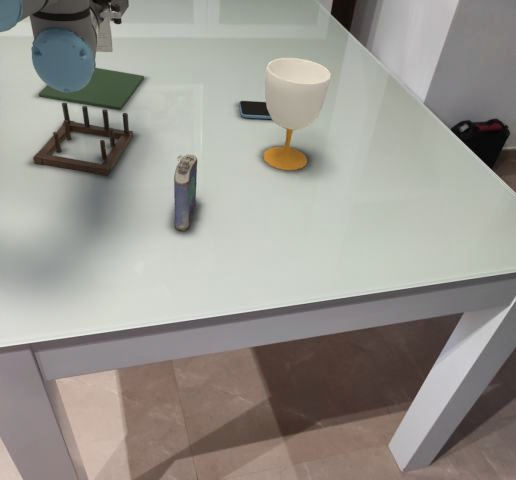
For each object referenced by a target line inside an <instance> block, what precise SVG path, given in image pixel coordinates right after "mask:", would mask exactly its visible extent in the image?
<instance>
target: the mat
mask: <svg viewBox="0 0 516 480" xmlns="http://www.w3.org/2000/svg"><path fill="white" fill-rule="evenodd" d="M143 80H145V76H144V75H141V74H135V73H129V72H124V71H123V72H122V71H116V70H111V69H105V68H99V67H95V69H94V72H93V75H92V77H91V79H90V81H89V83H88V84H87V85H86V86H85V87H84V88H83V89H81V90H79V91H76V92H69V93H66V92H61V91H58V90H55V89H53V88H51V87H50V86H48V85H47V84H46V86H45V87H44V88H43V89H42V90H40V92H38V97H42V98H47V99H53V100H58V101H64V102H70V103H75V104H83V105H88V106H95V107H99V108H106V109H112V110H117V111H121V110H122V109H123V108H124V106H125V105H126V104H127V102H128V101H129V100H130V98H131V97H132V96H133V94H134V93H135V91H136V90H137V89H138V87H139V86H140V85H141V83H142V82H143Z"/></svg>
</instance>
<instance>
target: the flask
mask: <svg viewBox="0 0 516 480" xmlns="http://www.w3.org/2000/svg"><path fill="white" fill-rule="evenodd" d="M177 161H178V163H177V164H176V168H175V171H174V176H173V182H174V183H173V187H174V188H173V190H174V191H173V192H174V193H173V195H174V196H173V197H174V202H173V203H174V218H173V219H174V220H173V221H174V222H173V223H174V224H173V225H174V228H175V230H177V231H183V232H185V231H187V230H188V229H189V228H190V223H191V221H192V219H193V215H192V214H193V213H194V210H195V208H196V206H197V203H196V202H197V179H198V177H197V174H198V157H197V156H196V155H194V154H186V155H182V154H179V155H178V156H177Z"/></svg>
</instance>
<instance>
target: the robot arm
mask: <svg viewBox="0 0 516 480" xmlns="http://www.w3.org/2000/svg"><path fill="white" fill-rule="evenodd" d="M129 3H130V1H129V0H0V33H4V32H8V31H10V30H11V29H12V28H14V27H16V25H17V24H18V23H20V22H21V21H24V20H25V19H27V18H28V17H29V20H30V26H31V31H32V36H33V41H32V43H31V44H32V46H31V47H30V48H31V62H32V66H33V69H34V71H35V73H36V74H37V76H38V77H39V78H40V80H41V81H42V82H43V83H44V84H46V86H47V85H48V86H50V87H51V88H53V89H55V90H58V91H61V92H66V93H69V92H76V91H79V90H81V89H83V88H84V87H85V86H86V85H87V84H88V83H89V81H90V79H91V77H92V75H93V72H94V69H95V68H97V67H96V65H97V63H96V57H97V52H96V49H97V42H98V36H99V29H100V23H102V22H103V21H104V18H109V19H110V22H113V23H114V24H115V25H121V24H122V23H123V21H122V17H123V16H124V14H126V11H127V10H128V8H129V7H130V4H129Z"/></svg>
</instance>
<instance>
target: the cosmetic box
mask: <svg viewBox="0 0 516 480" xmlns="http://www.w3.org/2000/svg"><path fill="white" fill-rule="evenodd" d="M112 37H113V36H112V29H111V21H110V18H104V21H103V22H102V23H100V29H99V36H98V42H97V49H96V53H113V38H112Z"/></svg>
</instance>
